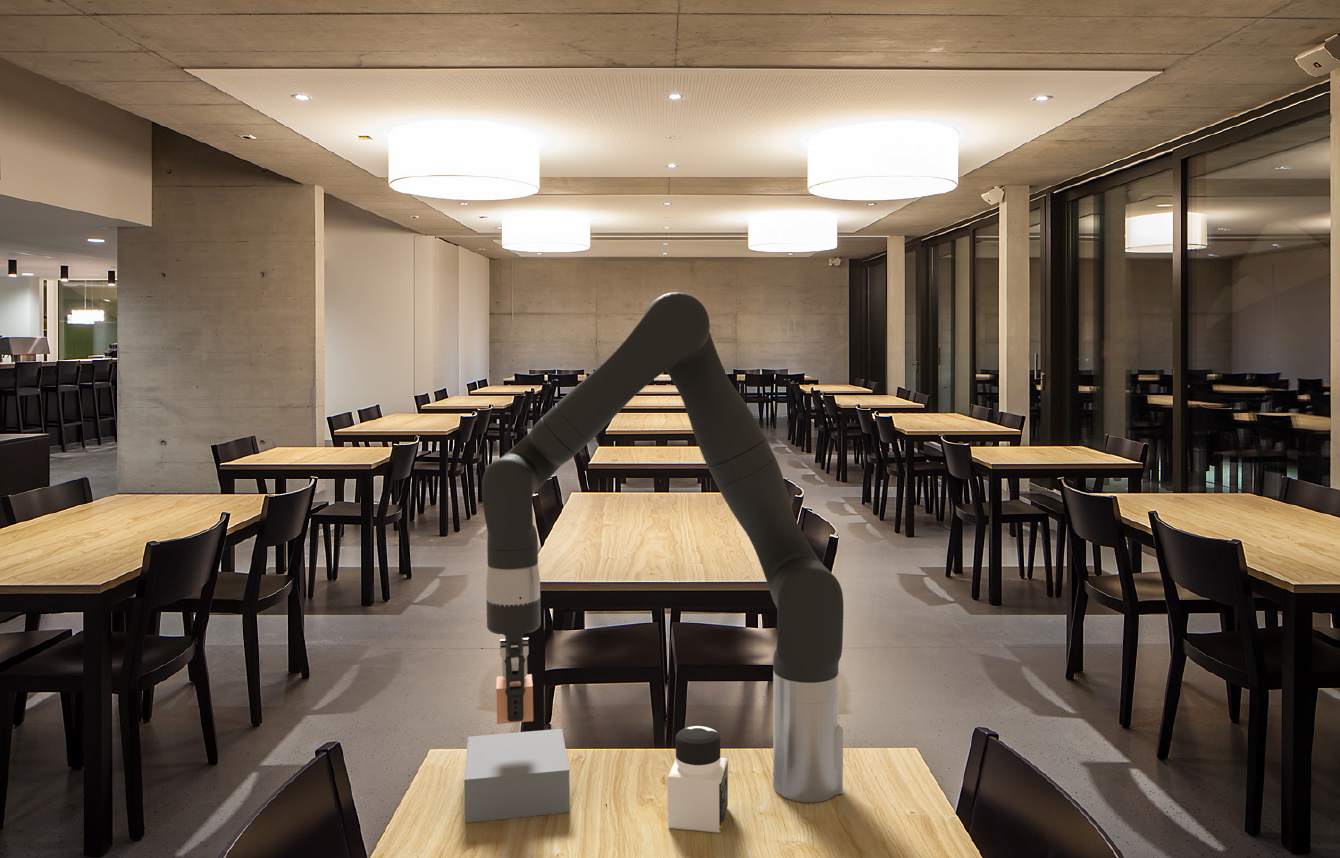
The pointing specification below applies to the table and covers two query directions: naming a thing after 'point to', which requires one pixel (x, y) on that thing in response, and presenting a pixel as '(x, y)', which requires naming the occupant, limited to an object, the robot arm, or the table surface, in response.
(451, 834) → the table surface
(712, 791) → the medicine bottle
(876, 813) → the table surface
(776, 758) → the robot arm
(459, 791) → the table surface
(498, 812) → the slate pedestal
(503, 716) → the terracotta cube
